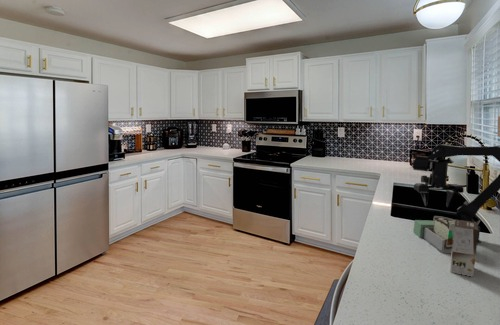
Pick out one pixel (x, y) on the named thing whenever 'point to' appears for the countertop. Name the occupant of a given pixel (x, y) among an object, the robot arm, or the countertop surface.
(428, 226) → the green block on stand
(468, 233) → the coffee box
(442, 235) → the food container
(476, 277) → the countertop surface
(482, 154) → the robot arm
